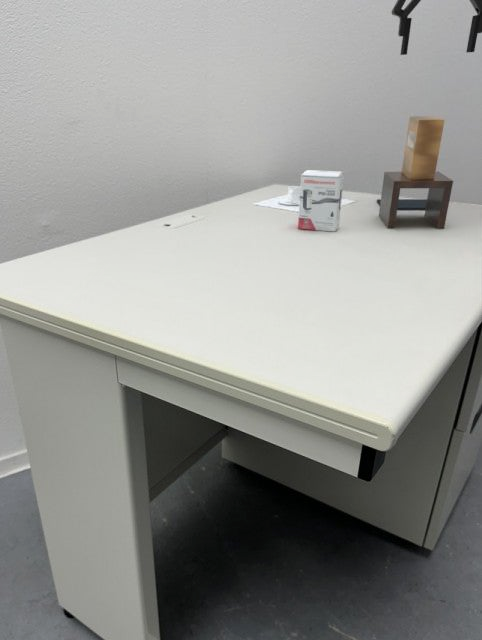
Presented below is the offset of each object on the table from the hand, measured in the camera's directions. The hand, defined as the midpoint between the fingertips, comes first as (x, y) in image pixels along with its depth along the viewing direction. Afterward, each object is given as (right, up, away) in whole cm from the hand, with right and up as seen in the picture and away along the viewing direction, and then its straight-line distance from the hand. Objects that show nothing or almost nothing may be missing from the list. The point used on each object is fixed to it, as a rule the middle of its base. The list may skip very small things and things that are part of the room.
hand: (436, 53), depth 116 cm
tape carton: (-3, -24, +4) cm, 25 cm away
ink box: (-24, -36, +6) cm, 43 cm away
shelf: (-2, -33, +9) cm, 34 cm away
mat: (+3, -25, +23) cm, 34 cm away
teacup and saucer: (-23, -22, +30) cm, 44 cm away
